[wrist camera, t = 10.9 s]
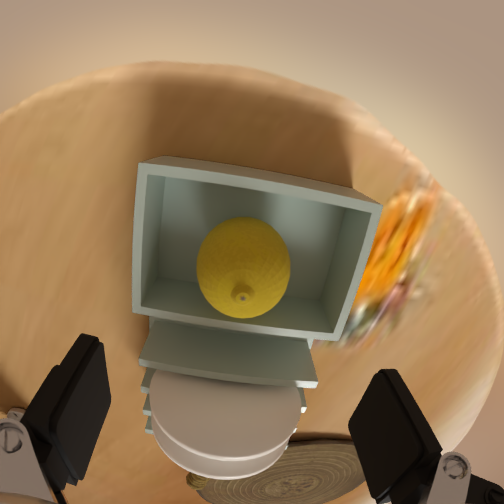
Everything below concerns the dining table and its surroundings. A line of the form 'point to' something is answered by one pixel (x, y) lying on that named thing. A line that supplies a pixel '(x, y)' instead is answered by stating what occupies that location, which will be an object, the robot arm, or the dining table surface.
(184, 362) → the dish rack
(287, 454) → the decorative disc
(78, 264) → the dining table surface
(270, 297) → the lemon
